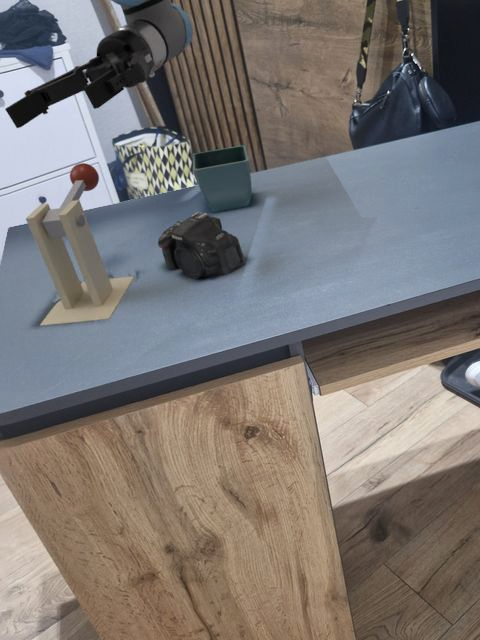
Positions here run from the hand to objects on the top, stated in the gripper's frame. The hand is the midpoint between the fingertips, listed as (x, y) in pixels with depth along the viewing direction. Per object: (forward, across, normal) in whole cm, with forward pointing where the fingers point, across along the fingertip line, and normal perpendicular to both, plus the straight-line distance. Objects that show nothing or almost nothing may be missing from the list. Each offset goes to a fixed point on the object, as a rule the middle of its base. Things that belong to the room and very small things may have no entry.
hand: (50, 108), depth 84 cm
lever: (+8, -3, -11) cm, 14 cm away
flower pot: (-17, -8, -26) cm, 32 cm away
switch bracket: (+15, -3, -22) cm, 26 cm away
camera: (+5, -15, -24) cm, 29 cm away
